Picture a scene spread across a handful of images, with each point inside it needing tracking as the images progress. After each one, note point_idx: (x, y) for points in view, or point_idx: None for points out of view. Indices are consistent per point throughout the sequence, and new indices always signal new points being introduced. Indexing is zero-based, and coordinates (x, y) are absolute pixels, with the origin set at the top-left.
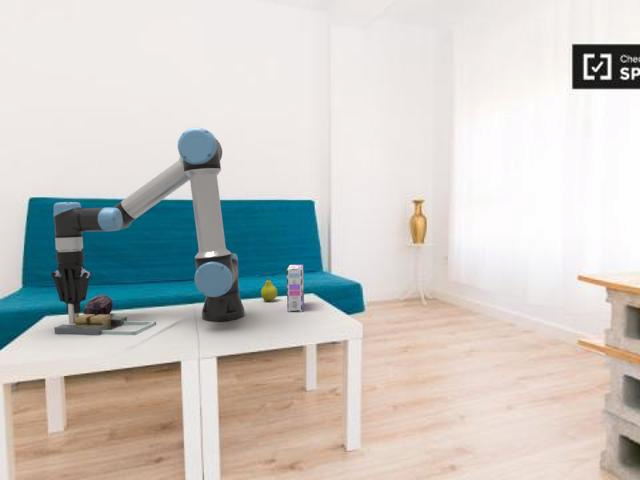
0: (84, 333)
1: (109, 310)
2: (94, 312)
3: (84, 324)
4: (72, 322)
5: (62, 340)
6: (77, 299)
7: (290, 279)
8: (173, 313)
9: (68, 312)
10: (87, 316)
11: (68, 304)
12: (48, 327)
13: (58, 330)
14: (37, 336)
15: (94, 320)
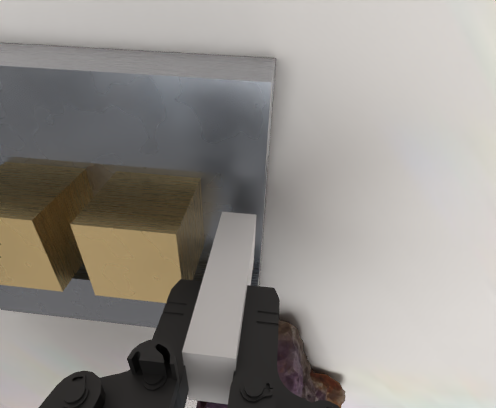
0: (4, 53)
1: None
2: None
3: (116, 192)
4: (226, 220)
5: (184, 16)
6: (89, 405)
7: None
8: (47, 395)
9: (245, 281)
10: (88, 248)
11: (228, 353)
12: (481, 284)
13: (232, 71)
14: (459, 113)
15: (12, 202)
